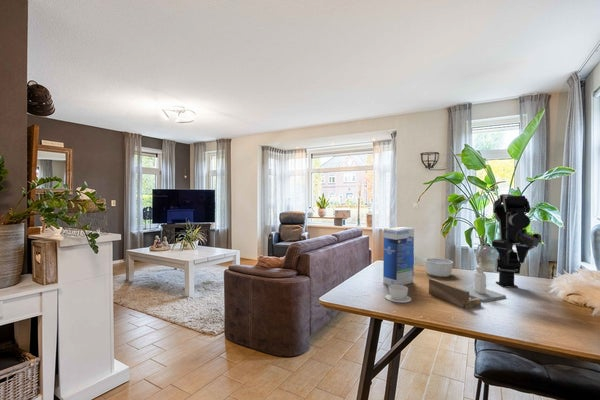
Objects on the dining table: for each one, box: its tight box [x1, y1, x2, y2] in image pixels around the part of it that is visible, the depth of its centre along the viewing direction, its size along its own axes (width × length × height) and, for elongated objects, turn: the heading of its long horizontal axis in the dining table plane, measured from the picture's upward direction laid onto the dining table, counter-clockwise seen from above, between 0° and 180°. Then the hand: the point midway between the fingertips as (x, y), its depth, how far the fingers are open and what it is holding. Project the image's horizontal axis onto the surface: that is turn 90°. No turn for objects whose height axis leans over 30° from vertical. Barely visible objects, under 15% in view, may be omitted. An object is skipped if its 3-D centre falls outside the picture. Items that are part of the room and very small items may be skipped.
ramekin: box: [424, 257, 454, 278], centre depth 154 cm, size 13×13×7 cm
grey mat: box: [459, 286, 507, 303], centre depth 123 cm, size 13×13×1 cm
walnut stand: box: [428, 278, 482, 309], centre depth 118 cm, size 8×18×6 cm, turn 20°
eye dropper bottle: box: [472, 263, 487, 294], centre depth 123 cm, size 4×6×12 cm
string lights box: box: [382, 226, 415, 286], centre depth 138 cm, size 13×8×26 cm, turn 123°
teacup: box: [384, 285, 412, 303], centre depth 118 cm, size 10×10×5 cm
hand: (513, 263), depth 121 cm, fingers open, 9 cm apart
